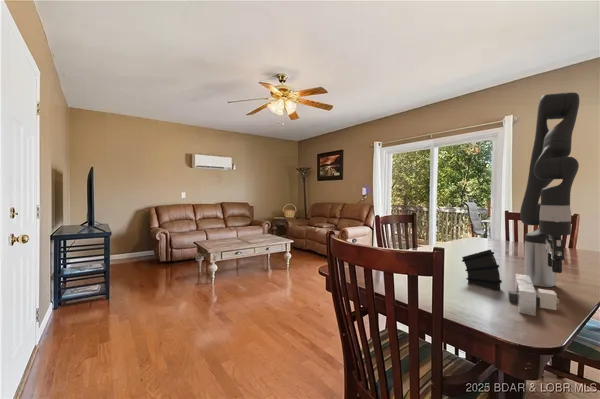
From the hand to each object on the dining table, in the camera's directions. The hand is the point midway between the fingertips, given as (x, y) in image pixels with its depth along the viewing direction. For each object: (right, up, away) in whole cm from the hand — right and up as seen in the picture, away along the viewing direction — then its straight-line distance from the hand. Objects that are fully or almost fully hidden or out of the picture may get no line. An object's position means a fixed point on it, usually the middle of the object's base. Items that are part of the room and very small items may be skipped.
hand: (554, 269), depth 90 cm
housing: (-6, -13, +5) cm, 15 cm away
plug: (-4, -13, +4) cm, 14 cm away
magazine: (-9, -12, +22) cm, 27 cm away
